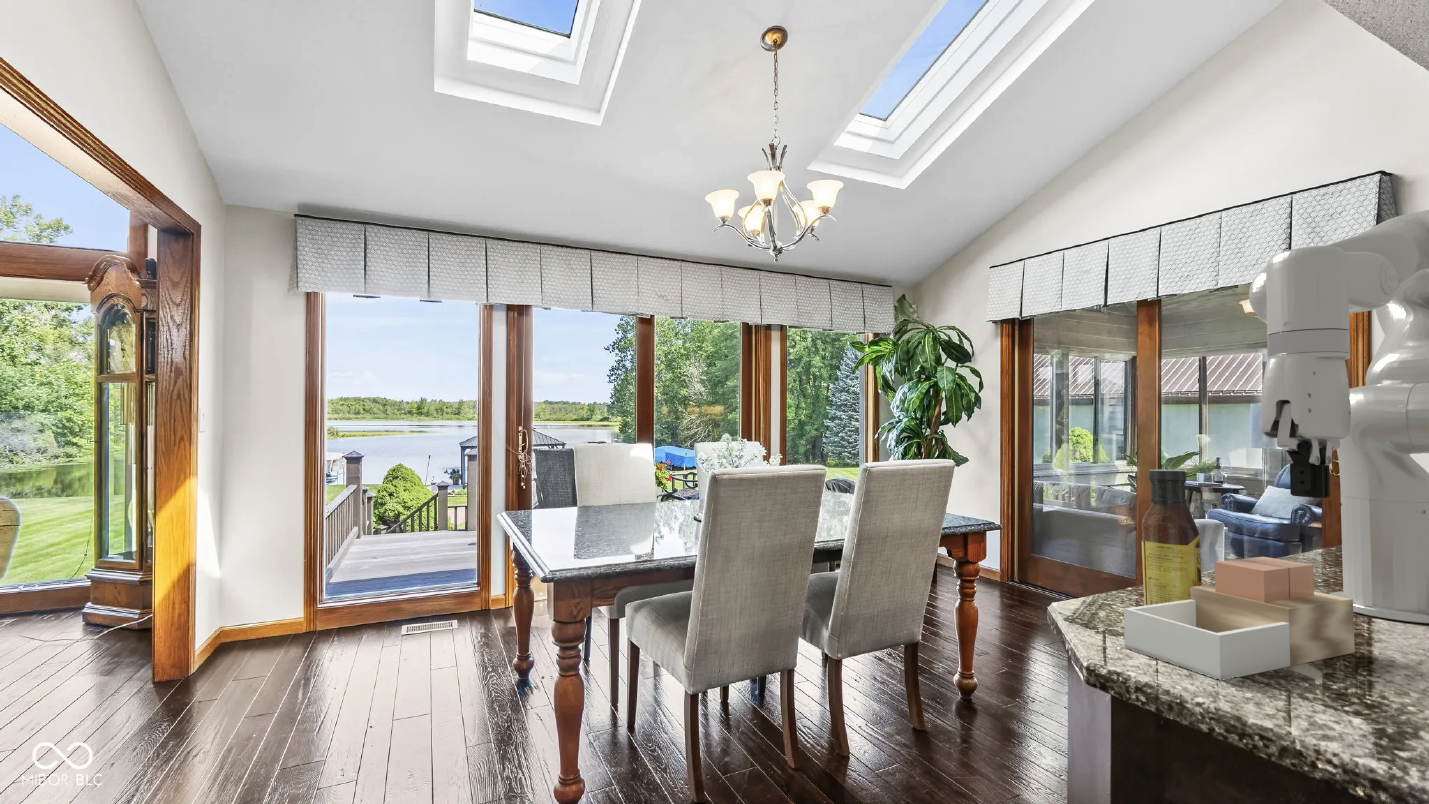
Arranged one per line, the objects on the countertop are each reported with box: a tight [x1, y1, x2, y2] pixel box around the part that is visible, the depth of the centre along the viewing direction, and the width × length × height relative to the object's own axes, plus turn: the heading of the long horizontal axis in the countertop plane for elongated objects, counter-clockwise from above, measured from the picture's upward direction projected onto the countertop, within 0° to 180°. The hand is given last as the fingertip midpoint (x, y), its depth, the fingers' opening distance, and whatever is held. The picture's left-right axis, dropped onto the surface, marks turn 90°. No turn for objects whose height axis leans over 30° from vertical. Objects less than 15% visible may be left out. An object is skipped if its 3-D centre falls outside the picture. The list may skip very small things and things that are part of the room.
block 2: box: [1240, 556, 1315, 599], centre depth 76 cm, size 4×5×4 cm
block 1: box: [1214, 558, 1289, 603], centre depth 74 cm, size 4×5×4 cm
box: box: [1123, 599, 1291, 681], centre depth 71 cm, size 12×10×4 cm
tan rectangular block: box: [1190, 583, 1356, 667], centre depth 75 cm, size 12×10×6 cm
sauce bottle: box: [1141, 468, 1203, 606], centre depth 83 cm, size 6×6×20 cm
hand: (1309, 496), depth 78 cm, fingers closed
